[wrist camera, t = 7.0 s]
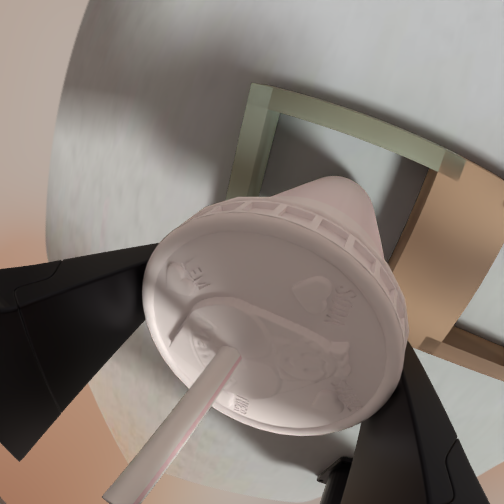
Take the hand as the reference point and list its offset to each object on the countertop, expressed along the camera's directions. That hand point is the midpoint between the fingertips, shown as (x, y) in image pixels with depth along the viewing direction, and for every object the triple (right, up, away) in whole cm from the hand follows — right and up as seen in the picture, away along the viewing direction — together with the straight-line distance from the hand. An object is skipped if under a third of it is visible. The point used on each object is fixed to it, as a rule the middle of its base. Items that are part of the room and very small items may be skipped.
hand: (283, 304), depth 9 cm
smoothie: (+3, +3, +6) cm, 8 cm away
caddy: (+9, +2, +6) cm, 11 cm away
